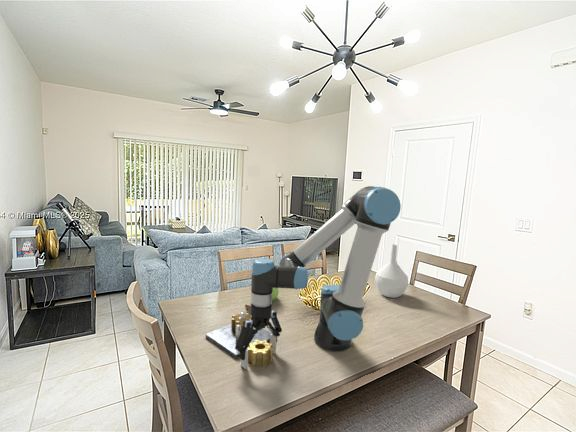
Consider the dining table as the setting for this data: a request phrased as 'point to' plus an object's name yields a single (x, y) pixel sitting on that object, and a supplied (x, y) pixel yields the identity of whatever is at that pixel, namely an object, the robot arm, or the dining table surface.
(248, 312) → the stone
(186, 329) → the dining table surface
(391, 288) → the vase
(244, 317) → the plate
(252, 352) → the planet gear
